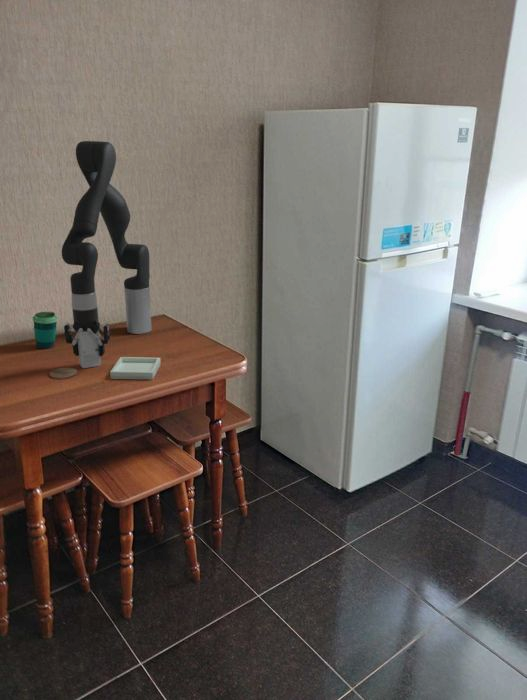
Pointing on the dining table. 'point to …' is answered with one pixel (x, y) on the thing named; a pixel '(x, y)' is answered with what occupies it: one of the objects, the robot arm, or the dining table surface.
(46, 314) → the cup
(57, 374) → the coaster
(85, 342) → the skincare box
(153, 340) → the dining table surface
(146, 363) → the tray
